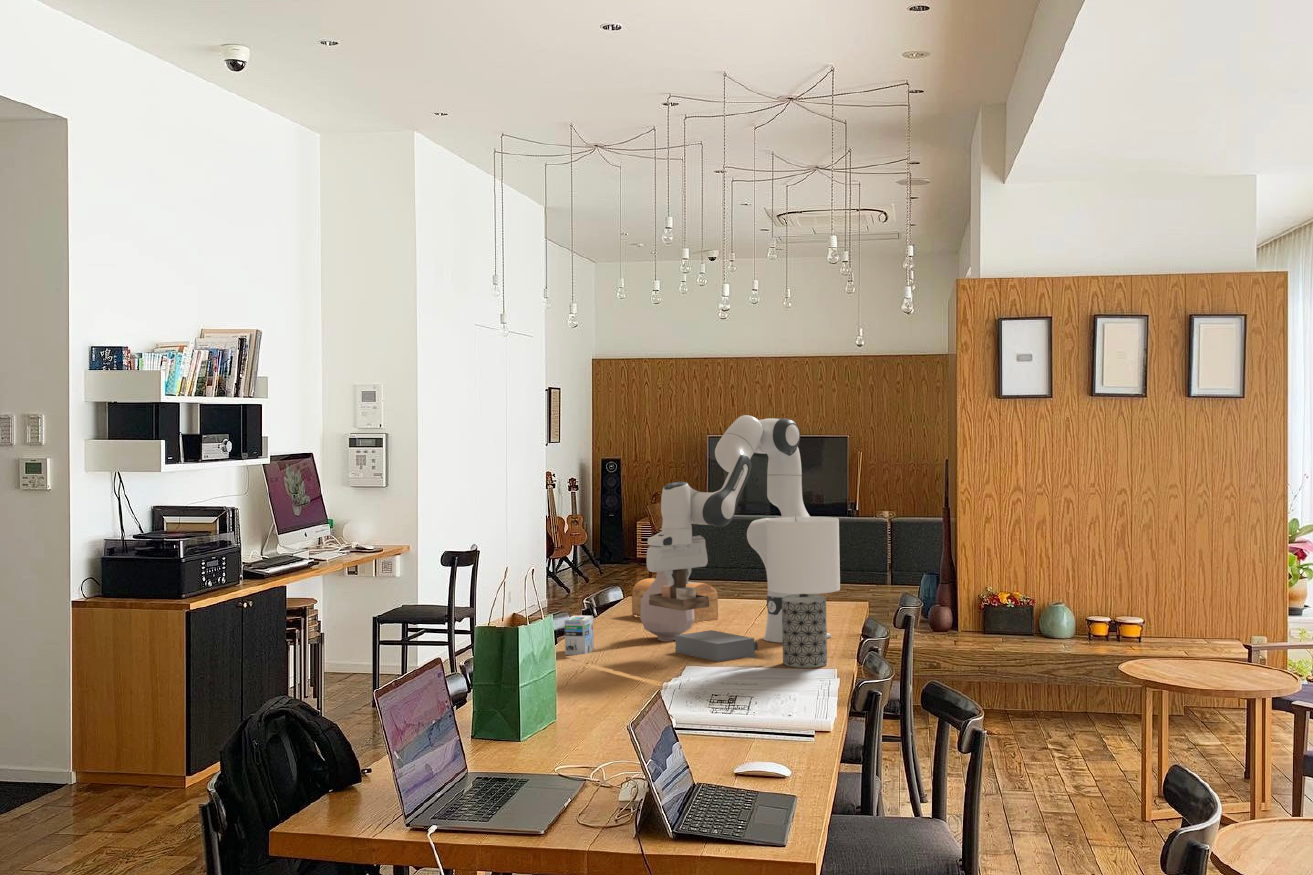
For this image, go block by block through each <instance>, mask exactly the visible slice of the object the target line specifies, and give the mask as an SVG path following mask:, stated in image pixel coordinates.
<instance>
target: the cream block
mask: <svg viewBox="0 0 1313 875" xmlns="http://www.w3.org/2000/svg"><path fill="white" fill-rule="evenodd" d="M676 598H677V599H680V600H685V599H692V598H696V588H691V587H683V588H676Z"/></svg>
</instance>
